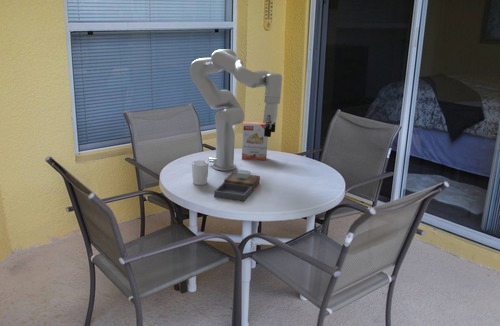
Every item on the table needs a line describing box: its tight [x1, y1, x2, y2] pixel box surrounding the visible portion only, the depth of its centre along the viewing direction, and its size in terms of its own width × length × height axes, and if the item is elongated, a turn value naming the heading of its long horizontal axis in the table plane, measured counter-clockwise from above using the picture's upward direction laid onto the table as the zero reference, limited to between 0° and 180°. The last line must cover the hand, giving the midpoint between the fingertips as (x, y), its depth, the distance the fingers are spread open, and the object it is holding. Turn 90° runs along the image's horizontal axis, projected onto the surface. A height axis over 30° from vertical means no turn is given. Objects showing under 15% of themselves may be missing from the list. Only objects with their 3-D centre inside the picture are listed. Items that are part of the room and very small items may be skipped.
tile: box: [236, 169, 251, 179], centre depth 236 cm, size 5×5×2 cm
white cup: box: [191, 160, 210, 186], centre depth 236 cm, size 8×8×10 cm
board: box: [223, 171, 261, 193], centre depth 235 cm, size 14×12×4 cm
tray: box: [213, 181, 253, 203], centre depth 223 cm, size 14×12×3 cm
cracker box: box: [241, 121, 269, 161], centre depth 276 cm, size 14×6×21 cm, turn 90°
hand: (269, 134), depth 240 cm, fingers open, 9 cm apart
